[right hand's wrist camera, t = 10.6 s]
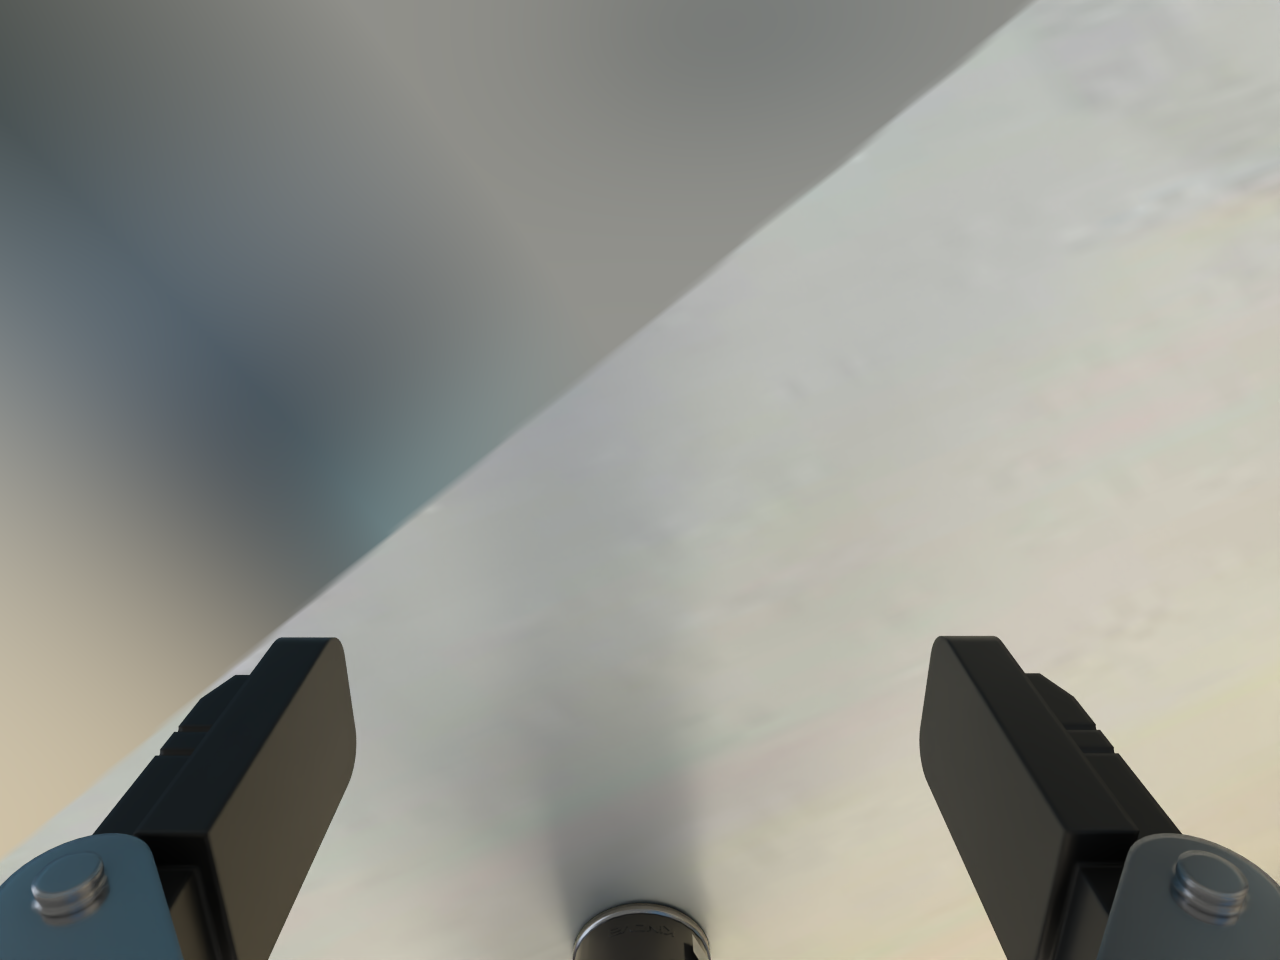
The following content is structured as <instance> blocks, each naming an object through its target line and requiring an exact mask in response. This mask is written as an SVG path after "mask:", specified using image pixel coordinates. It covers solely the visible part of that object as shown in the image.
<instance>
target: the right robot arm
mask: <svg viewBox="0 0 1280 960" xmlns="http://www.w3.org/2000/svg"><path fill="white" fill-rule="evenodd" d="M919 741H920V756H921V762H922V767H923V771H924V775H925V778H926V780H927V783H928V785H929V787H930V789H931V791H932V794H933V796H934V798H935V800H936V802H937V805H938V807H939V809H940V811H941V814H942V816H943V818H944V820H945V822H946V825H947V827H948V829H949V831H950V833H951V836H952V838H953V840H954V842H955V845H956V847H957V849H958V851H959V853H960V856H961V858H962V860H963V862H964V864H965V867H966V869H967V871H968V873H969V875H970V878H971V880H972V882H973V884H974V887H975V889H976V891H977V893H978V895H979V898H980V900H981V902H982V904H983V906H984V909H985V911H986V913H987V915H988V918H989V920H990V922H991V924H992V926H993V929H994V931H995V933H996V935H997V937H998V940H999V942H1000V944H1001V946H1002V948H1003V951H1004V953H1005V955H1006V957H1007V960H1280V886H1279V885H1278V884H1277V883H1276V882H1275V881H1274V880H1273V879H1272V878H1271V877H1270V876H1269V875H1268V874H1267V873H1265V872H1264V871H1263V870H1262V869H1260V868H1259V867H1258V866H1257V865H1255V864H1254V863H1252V862H1251V861H1249V860H1247V859H1246V858H1244V857H1243V856H1241V855H1239V854H1237V853H1235V852H1234V851H1232V850H1230V849H1228V848H1225V847H1223V846H1221V845H1218V844H1216V843H1213V842H1210V841H1207V840H1205V839H1201V838H1197V837H1193V836H1189V835H1183V834H1182V833H1181V832H1180V831H1179V830H1178V828H1177V827H1176V826H1175V824H1174V823H1173V822H1172V821H1171V819H1170V818H1169V817H1168V816H1167V814H1166V813H1165V812H1164V810H1163V809H1162V808H1161V807H1160V805H1159V804H1158V803H1157V802H1156V800H1155V799H1154V798H1153V797H1152V795H1151V794H1150V793H1149V791H1148V790H1147V789H1146V788H1145V786H1144V785H1143V784H1142V783H1141V781H1140V780H1139V779H1138V778H1137V776H1136V775H1135V774H1134V772H1133V771H1132V770H1131V769H1130V767H1129V766H1128V765H1127V764H1126V762H1125V761H1124V760H1123V758H1122V757H1121V756H1120V755H1119V753H1114V747H1113V746H1112V745H1111V743H1110V742H1109V741H1108V739H1107V738H1106V737H1105V736H1104V734H1103V733H1102V732H1101V731H1100V730H1096V724H1095V723H1094V722H1093V720H1092V719H1091V718H1090V717H1089V715H1088V714H1087V713H1086V712H1085V710H1084V709H1083V708H1082V706H1081V705H1080V704H1079V703H1078V701H1077V700H1076V699H1075V698H1074V697H1073V696H1072V695H1070V694H1069V693H1067V692H1066V691H1065V690H1063V689H1062V688H1060V687H1059V686H1057V685H1056V684H1054V683H1053V682H1051V681H1050V680H1049V679H1047V678H1046V677H1044V676H1043V675H1041V674H1040V673H1024V671H1023V670H1022V669H1021V667H1020V666H1019V664H1018V663H1017V662H1016V660H1015V659H1014V658H1013V656H1012V655H1011V654H1010V652H1009V651H1008V649H1007V648H1006V647H1005V645H1004V644H1003V643H1002V641H1001V640H1000V639H999V638H997V637H995V636H939V637H937V638H936V640H935V641H934V644H933V647H932V651H931V657H930V664H929V671H928V678H927V685H926V692H925V699H924V706H923V713H922V720H921V726H920V739H919ZM355 755H356V730H355V723H354V716H353V709H352V702H351V696H350V689H349V682H348V675H347V668H346V661H345V655H344V650H343V646H342V644H341V642H340V641H339V639H337V638H278V639H277V640H276V641H275V642H274V643H273V644H272V646H271V647H270V648H269V650H268V651H267V652H266V654H265V655H264V656H263V658H262V659H261V660H260V662H259V663H258V665H257V666H256V667H255V669H254V670H253V671H252V673H251V674H250V675H235V676H233V677H232V678H230V679H229V680H227V681H226V682H224V683H223V684H221V685H220V686H219V687H217V688H216V689H214V690H213V691H211V692H210V693H208V694H207V695H205V696H204V697H203V698H201V699H200V700H199V701H198V703H197V704H196V705H195V706H194V708H193V709H192V710H191V712H190V713H189V714H188V715H187V717H186V718H185V719H184V720H183V722H182V723H181V724H180V725H179V730H178V732H174V733H173V734H172V735H171V737H170V738H169V739H168V740H167V742H166V743H165V744H164V745H163V747H162V748H161V749H160V755H159V756H155V757H154V758H153V759H152V761H151V762H150V763H149V764H148V766H147V767H146V768H145V769H144V771H143V772H142V773H141V774H140V776H139V777H138V778H137V779H136V781H135V782H134V783H133V784H132V786H131V787H130V788H129V789H128V791H127V792H126V793H125V794H124V796H123V797H122V798H121V799H120V801H119V802H118V803H117V805H116V806H115V807H114V808H113V810H112V811H111V812H110V813H109V815H108V816H107V817H106V818H105V820H104V821H103V822H102V823H101V825H100V826H99V827H98V828H97V830H96V831H95V832H94V833H93V835H91V836H87V837H83V838H79V839H75V840H73V841H70V842H67V843H64V844H62V845H59V846H57V847H55V848H52V849H50V850H48V851H46V852H45V853H43V854H41V855H39V856H37V857H36V858H34V859H33V860H31V861H29V862H28V863H26V864H25V865H23V866H22V867H21V868H20V869H18V870H17V871H16V872H15V873H13V874H12V875H11V876H10V877H9V878H8V879H7V880H6V881H5V882H4V883H3V884H2V885H1V886H0V960H268V958H269V956H270V954H271V952H272V950H273V948H274V945H275V943H276V941H277V939H278V937H279V934H280V932H281V930H282V928H283V926H284V923H285V921H286V919H287V917H288V915H289V913H290V910H291V908H292V906H293V904H294V902H295V899H296V897H297V895H298V893H299V891H300V889H301V886H302V884H303V882H304V880H305V878H306V875H307V873H308V871H309V869H310V867H311V864H312V862H313V860H314V858H315V856H316V854H317V851H318V849H319V847H320V845H321V843H322V840H323V838H324V836H325V834H326V832H327V829H328V827H329V825H330V823H331V821H332V819H333V816H334V814H335V812H336V810H337V808H338V805H339V803H340V801H341V799H342V797H343V795H344V792H345V790H346V788H347V786H348V784H349V781H350V779H351V775H352V772H353V768H354V763H355ZM573 960H710V949H709V944H708V940H707V938H706V936H705V934H704V932H703V931H702V929H701V928H700V927H699V926H698V925H697V924H696V922H694V921H693V920H692V919H691V918H689V917H688V916H687V915H685V914H683V913H681V912H679V911H677V910H675V909H672V908H669V907H666V906H662V905H657V904H650V903H634V904H626V905H621V906H617V907H614V908H611V909H608V910H606V911H604V912H602V913H600V914H598V915H597V916H595V917H594V918H592V919H591V920H590V921H589V922H588V923H587V924H586V925H585V926H584V927H583V928H582V929H581V931H580V932H579V934H578V936H577V938H576V941H575V944H574V950H573Z"/></svg>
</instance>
